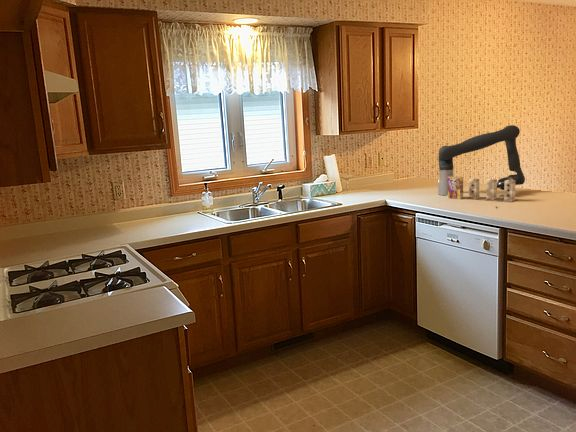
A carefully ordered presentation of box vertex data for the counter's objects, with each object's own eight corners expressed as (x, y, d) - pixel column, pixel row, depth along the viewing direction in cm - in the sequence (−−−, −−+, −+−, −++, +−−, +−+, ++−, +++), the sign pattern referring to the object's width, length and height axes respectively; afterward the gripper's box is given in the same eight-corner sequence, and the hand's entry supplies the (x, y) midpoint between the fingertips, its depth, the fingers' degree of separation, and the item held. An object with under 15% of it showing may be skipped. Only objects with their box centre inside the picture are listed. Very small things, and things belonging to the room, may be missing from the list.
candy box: (463, 200, 313) (463, 176, 310) (459, 201, 310) (459, 177, 307) (451, 199, 320) (451, 176, 317) (447, 200, 317) (447, 176, 314)
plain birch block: (486, 199, 303) (486, 179, 301) (489, 198, 306) (489, 178, 304) (493, 199, 300) (493, 180, 298) (496, 198, 303) (496, 179, 301)
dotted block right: (504, 200, 295) (504, 180, 293) (507, 199, 299) (507, 179, 296) (511, 201, 292) (512, 181, 290) (514, 200, 295) (515, 179, 293)
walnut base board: (464, 201, 311) (464, 198, 310) (471, 198, 317) (471, 196, 317) (512, 204, 289) (512, 202, 289) (519, 202, 296) (519, 199, 296)
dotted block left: (469, 198, 311) (469, 179, 309) (472, 197, 314) (472, 178, 312) (475, 198, 308) (476, 179, 306) (479, 197, 311) (479, 178, 309)
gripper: (495, 176, 320) (483, 180, 308) (516, 177, 311) (504, 181, 299) (495, 188, 321) (483, 192, 310) (516, 189, 312) (504, 193, 300)
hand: (494, 187), depth 304 cm, fingers closed
